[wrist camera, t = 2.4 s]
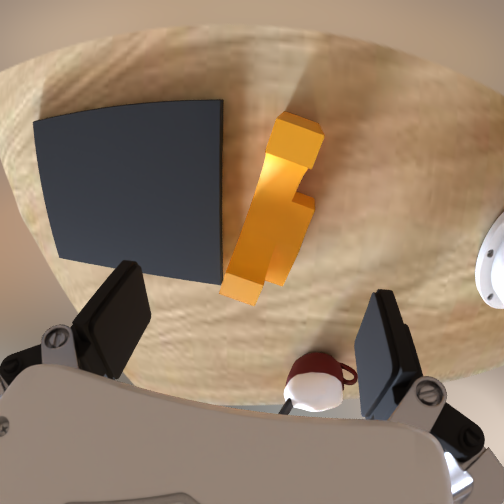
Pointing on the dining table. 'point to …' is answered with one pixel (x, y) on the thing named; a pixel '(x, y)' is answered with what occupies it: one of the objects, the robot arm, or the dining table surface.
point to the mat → (137, 186)
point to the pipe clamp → (275, 211)
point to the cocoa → (315, 383)
